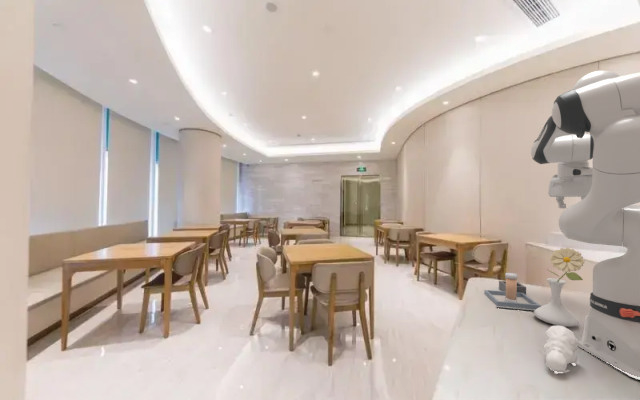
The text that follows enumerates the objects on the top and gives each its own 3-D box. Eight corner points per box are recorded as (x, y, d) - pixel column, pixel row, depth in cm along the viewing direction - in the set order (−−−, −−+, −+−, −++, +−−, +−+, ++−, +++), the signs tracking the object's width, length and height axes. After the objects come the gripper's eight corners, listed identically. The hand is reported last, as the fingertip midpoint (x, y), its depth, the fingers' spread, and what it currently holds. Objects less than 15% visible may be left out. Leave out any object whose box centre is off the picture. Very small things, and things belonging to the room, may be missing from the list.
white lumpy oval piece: (579, 327, 69) (573, 349, 61) (579, 360, 69) (573, 387, 61) (546, 319, 73) (537, 338, 65) (546, 350, 74) (537, 373, 66)
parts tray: (541, 312, 100) (541, 305, 100) (497, 308, 103) (497, 301, 103) (522, 299, 113) (522, 292, 113) (484, 295, 116) (484, 289, 116)
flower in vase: (526, 318, 95) (527, 244, 95) (546, 313, 99) (547, 242, 99) (573, 335, 83) (574, 251, 83) (593, 328, 87) (595, 249, 87)
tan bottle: (518, 304, 105) (519, 275, 105) (507, 303, 106) (507, 274, 106) (514, 301, 109) (514, 272, 109) (503, 300, 110) (503, 272, 110)
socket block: (526, 298, 114) (526, 287, 114) (505, 296, 116) (505, 285, 116) (517, 292, 121) (518, 282, 121) (498, 290, 123) (498, 280, 123)
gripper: (544, 174, 118) (543, 207, 118) (587, 169, 97) (586, 209, 97) (559, 175, 117) (559, 208, 117) (606, 170, 97) (605, 209, 97)
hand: (572, 208), depth 107 cm, fingers open, 8 cm apart
